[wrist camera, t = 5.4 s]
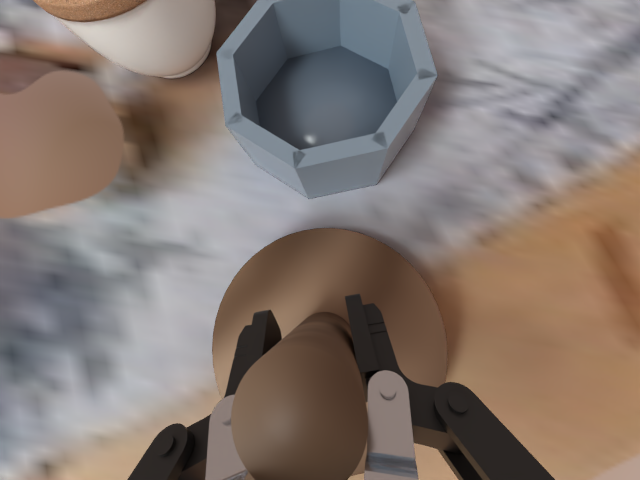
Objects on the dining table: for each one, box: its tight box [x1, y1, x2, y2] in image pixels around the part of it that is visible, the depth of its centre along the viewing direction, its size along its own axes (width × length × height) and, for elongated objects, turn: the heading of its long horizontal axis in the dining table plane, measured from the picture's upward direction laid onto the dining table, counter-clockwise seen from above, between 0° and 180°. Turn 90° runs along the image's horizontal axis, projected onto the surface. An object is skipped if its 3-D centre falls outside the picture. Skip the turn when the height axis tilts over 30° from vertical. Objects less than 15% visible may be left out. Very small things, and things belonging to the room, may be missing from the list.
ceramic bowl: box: [216, 0, 438, 199], centre depth 17 cm, size 12×12×5 cm
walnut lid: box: [212, 228, 448, 480], centre depth 12 cm, size 14×14×10 cm
